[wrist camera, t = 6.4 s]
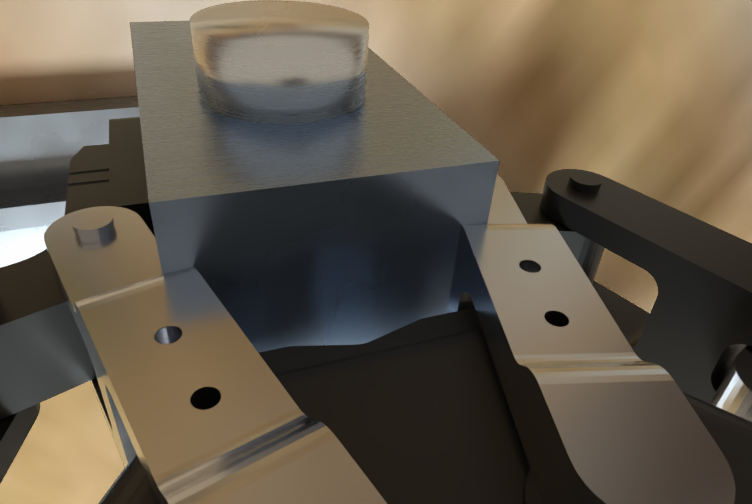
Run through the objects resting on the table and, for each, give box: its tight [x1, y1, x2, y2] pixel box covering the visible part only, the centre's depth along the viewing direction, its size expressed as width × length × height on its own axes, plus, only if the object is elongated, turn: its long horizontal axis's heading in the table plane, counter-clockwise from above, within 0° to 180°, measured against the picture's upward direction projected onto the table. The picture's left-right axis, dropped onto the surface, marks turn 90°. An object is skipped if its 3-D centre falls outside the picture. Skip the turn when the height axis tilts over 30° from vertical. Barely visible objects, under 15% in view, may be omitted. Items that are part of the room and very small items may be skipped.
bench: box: [0, 96, 140, 268], centre depth 24 cm, size 21×14×6 cm, turn 86°
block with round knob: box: [130, 0, 500, 353], centre depth 11 cm, size 7×4×7 cm, turn 175°
